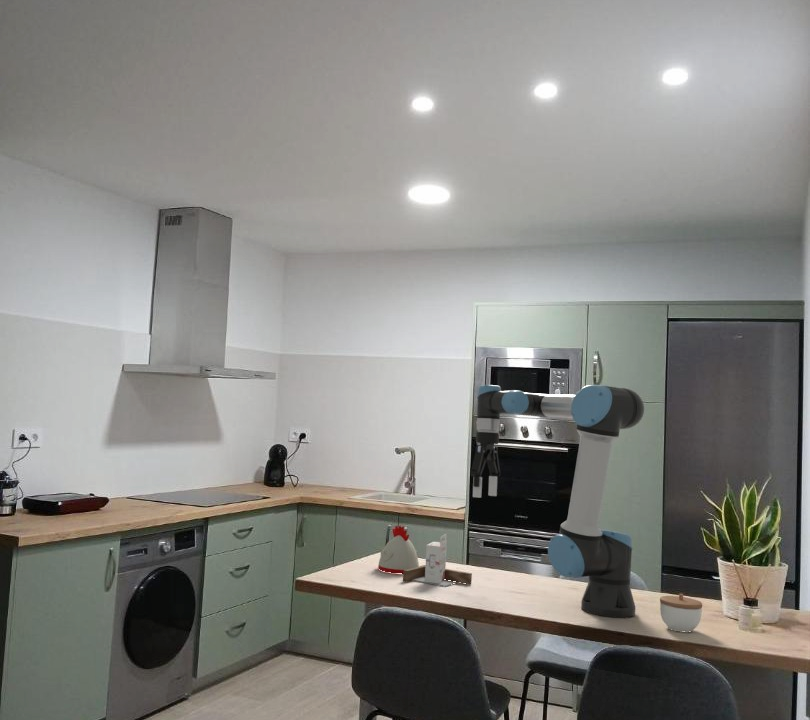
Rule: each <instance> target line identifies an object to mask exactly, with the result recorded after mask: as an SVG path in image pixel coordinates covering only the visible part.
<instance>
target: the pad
mask: <svg viewBox="0 0 810 720" xmlns="http://www.w3.org/2000/svg"><path fill="white" fill-rule="evenodd" d="M412 580H413V581H412V582H416V581H417V582H416V583H421V582H423V583H422V584H427V583H429V584H428V585H432V584H435V585H434V586H437V585H440V586H439V587H443V586H447V587H449V586H448V585H450V586H452V585H451V584H453V583H456V584H458V583H457V582H453V581H448V580H443V581H441V582H440V583H430V582H425V576H423V577H420V578H416V579H412ZM453 585H454V584H453Z"/></svg>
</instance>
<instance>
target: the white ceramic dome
mask: <svg viewBox="0 0 810 720" xmlns="http://www.w3.org/2000/svg"><path fill="white" fill-rule="evenodd" d="M407 531H408V530H405V526H401V525H399V526H398V525H395V526H394V528H392V535H393V538H391V539H390V540H389V541H388V542H387V543H386V544H385V546H384V547H383V549H381V550H380V558H379V560H378V567H377V568H379V569H380V570H382V571H385V572H391V573H402V574H403V570H407V569H411V568H415V567H419V566H420V565H419V559H418V556H419V555H418V552H419V551H418V550H416V548H415V547H414V544H413V542H412V541H411V540H410V538H409V536H410V534H407ZM385 572H384V573H385Z"/></svg>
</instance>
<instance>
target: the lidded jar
mask: <svg viewBox="0 0 810 720" xmlns="http://www.w3.org/2000/svg"><path fill="white" fill-rule="evenodd" d="M659 606H660V607H659V610H660V612H659V613H660V616H661V619H662V621H663V623H664V624H665V625H666V627H667V629H668V628H669V629H668V630H670V629H672V630H675V631H674V632H676V631H685V632H689V631H692V632H693V630H695V629H696V628H697V627H698V626H699V624H700V622H701V617H702V611H703V609H702V608H703V603H702V602H701V601H699V600H697V599H696V598H695V599H694V598H690V597H685V596H684V594H683V593H679V594H678V596H677V595H663V596H660V597H659ZM672 630H671V631H672Z"/></svg>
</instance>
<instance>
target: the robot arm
mask: <svg viewBox="0 0 810 720" xmlns="http://www.w3.org/2000/svg"><path fill="white" fill-rule="evenodd" d="M476 398H477V407H476V408H477V410H476V421H475V424H476V430H477V432H476V433H475V443H476V444H480V445H476V446H475V453H474V456H473V462H472V464H471V465H472V466H471V470H470V477H473V481H472V482H473V483H472V498H478V499H479V498H482V489H483V476H482V474H483V471H484V469H485V466H486V463H487V467H488V471H489V476H488V491H487V493H488V494H487V495H488V496H490V497H497V495H498V491H497V490H498V477H500V476H501V469H500V460H499V459H500V458H499V453H498V449H499V447H498V446H495V445H498V444H499V443H500V441H499V440H500V434H499V433H498V432H500V423H501V422H500V421H501V420H500V419H501V418H500V417H501V416H500V415H517V416H518V415H519V416H530V417H538V418H554V419H555V418H557V419H558V418H559V419H572V420H573V421H574V423H576V431H577V433H578V435H579V436H580V438H579V443H578V444H579V445H578V449H577V450H578V452H577V457H576V463H575V470H574V476H573V482H572V488H571V493H570V494H571V495H570V499H569V501H570V502H569V506H568V514H567V518H566V520H565V521H563V522H562V523H561V524H560V527H559V533H558V534H556V535H554V536H553V537H552V538H550V540H549V543H548V545H547V556H548V559H549V561H550V564H551V565H552V568H553V569H554V571H555V572H556V573H558V574H559V575H560V576H562V577H564V578H573V579H577V578H583V577H584V578H585V577H588V582H587V585H586V588H585V590H584V593H583V595H582V598H581V602H580V603H581V606H580V608H581V610H583V611H584V612H587V613H589V614H593V615H595V616H596V615H598V616H602V617H609V618H622V617H623V618H632V617H634V615H635V616H636V605H635V600H634V597H633V593H632V589H631V571H632V570H631V569H632V554H633V553H632V552H633V546H632V543H633V542H632V539H633V538H632V537H631V535H629V534H628V533H624V532H619V531H614V530H609V529H605V528H604V529H603V528H600V527H599V522H600V517H601V510H602V503H603V499H604V498H603V497H604V492H605V486H606V479H607V475H608V469H609V467H608V466H609V462H610V456H611V450H612V443H613V442H614V441H615V440H617V439H618V438H619V436H620V430H626V429H632V428H633V427H635V426H637V425H638V424H639V423H640V421H642V419H643V417H644V414H645V404H644V401H643V399H642V397H640V395H639V394H638V393H637V392H635V391H634V390H632V389H630V388H626V387H616V386H609V385H603V384H590V385H589V384H588V385H585V386H583V387H582V388H580V389H579V390H578V391H577V392H576V393H575V394H558V393H557V394H555V393H554V394H551V393H550V394H548V393H533V392H526V391H525V392H524V391H523V390H518V389H517V390H516V389H511V390H502V388H501V386H500V385H493V384H482V385H479V387H478V393H477V397H476ZM631 616H632V617H631ZM623 618H622V619H623Z"/></svg>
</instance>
